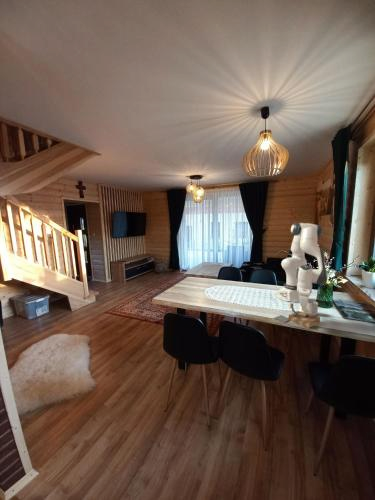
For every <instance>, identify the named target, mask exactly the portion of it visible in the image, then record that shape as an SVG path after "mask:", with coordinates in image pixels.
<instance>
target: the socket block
mask: <svg viewBox="0 0 375 500" xmlns="http://www.w3.org/2000/svg"><path fill="white" fill-rule="evenodd" d="M295 312H296V313H297V315H293V312H292V313H290V314H288V317H287V318H288V319H289V320H290V322H293V323H294V324H297V325H298V326H299V325H300V326H302V327H305V328H307V329H310V328H312V327H315V326H317V325H318V324H320V323H321V317H320V316H318V315H312V314H309V313H306V318H304V317H301V316H300V312H299V311H298V310H297V311H295Z"/></svg>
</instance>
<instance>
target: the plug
mask: <svg viewBox="0 0 375 500" xmlns="http://www.w3.org/2000/svg"><path fill="white" fill-rule="evenodd" d="M306 308H307V307H305V310H302V306H300V305H299V308H297V311H299V312H300V316H301V317H304V318H306V313H308V310H307V309H306Z"/></svg>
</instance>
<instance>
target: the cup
mask: <svg viewBox="0 0 375 500" xmlns="http://www.w3.org/2000/svg"><path fill="white" fill-rule="evenodd" d="M306 309H307V310H308V313H309V314H312V315H315V316H318V310H319V302H317V301H314V300H308V303H307V307H306Z"/></svg>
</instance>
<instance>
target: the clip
mask: <svg viewBox="0 0 375 500" xmlns="http://www.w3.org/2000/svg"><path fill="white" fill-rule="evenodd" d="M289 307H290V309H291V311H292V313H293V315H297V313H296V312H297V311H296V310H295V307H294V302H290V306H289Z"/></svg>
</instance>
